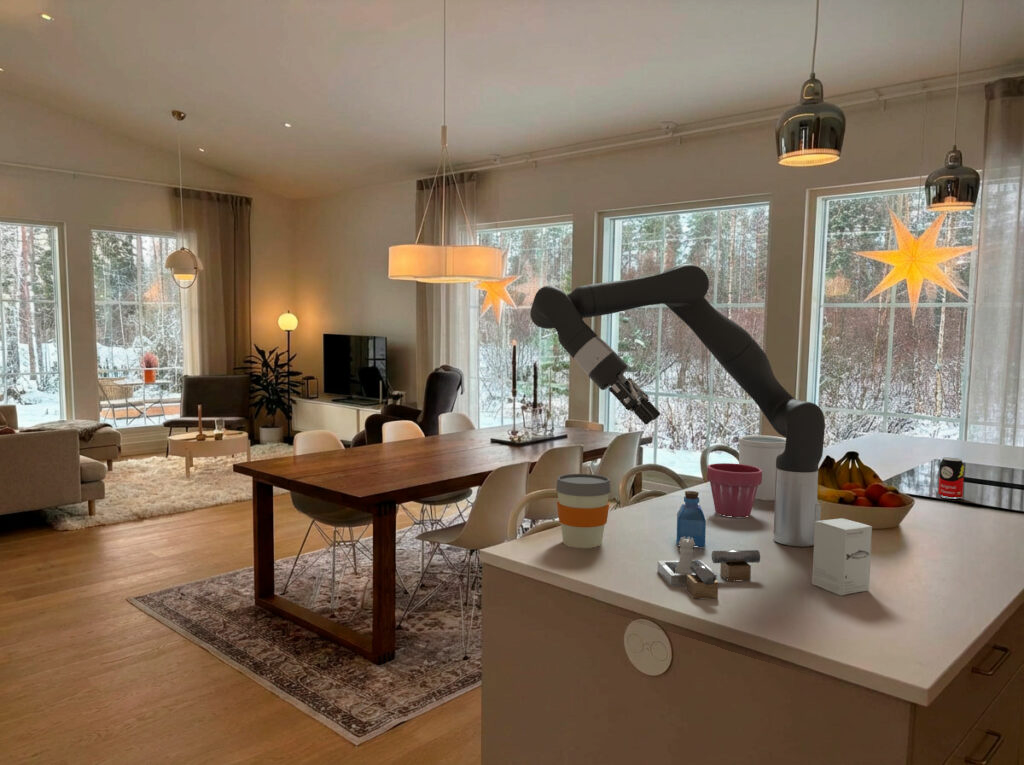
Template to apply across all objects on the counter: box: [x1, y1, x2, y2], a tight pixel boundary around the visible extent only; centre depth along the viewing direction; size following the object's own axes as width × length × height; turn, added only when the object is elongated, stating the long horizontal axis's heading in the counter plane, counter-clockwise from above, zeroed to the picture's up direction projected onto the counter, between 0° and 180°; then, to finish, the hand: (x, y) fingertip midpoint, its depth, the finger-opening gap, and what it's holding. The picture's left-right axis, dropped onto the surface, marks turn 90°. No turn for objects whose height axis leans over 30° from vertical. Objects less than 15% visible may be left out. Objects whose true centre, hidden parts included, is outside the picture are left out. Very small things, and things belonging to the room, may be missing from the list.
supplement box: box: [811, 517, 873, 597], centre depth 139 cm, size 7×7×13 cm
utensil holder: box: [738, 434, 786, 501], centre depth 220 cm, size 15×15×18 cm
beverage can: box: [937, 457, 965, 498], centre depth 219 cm, size 6×6×12 cm
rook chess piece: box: [675, 537, 695, 574], centre depth 144 cm, size 4×4×8 cm
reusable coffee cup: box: [555, 473, 612, 549], centre depth 168 cm, size 13×13×15 cm
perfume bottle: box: [676, 490, 707, 548], centre depth 168 cm, size 6×6×12 cm
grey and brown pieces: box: [657, 549, 761, 600], centre depth 140 cm, size 19×17×5 cm
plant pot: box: [706, 462, 762, 518], centre depth 197 cm, size 14×14×13 cm
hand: (653, 419), depth 150 cm, fingers open, 8 cm apart
